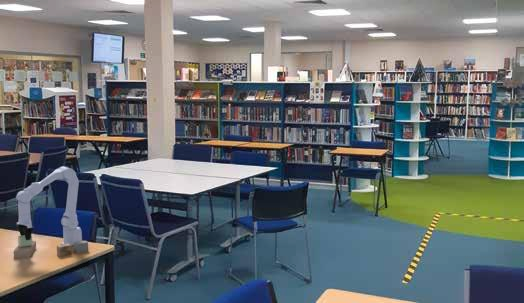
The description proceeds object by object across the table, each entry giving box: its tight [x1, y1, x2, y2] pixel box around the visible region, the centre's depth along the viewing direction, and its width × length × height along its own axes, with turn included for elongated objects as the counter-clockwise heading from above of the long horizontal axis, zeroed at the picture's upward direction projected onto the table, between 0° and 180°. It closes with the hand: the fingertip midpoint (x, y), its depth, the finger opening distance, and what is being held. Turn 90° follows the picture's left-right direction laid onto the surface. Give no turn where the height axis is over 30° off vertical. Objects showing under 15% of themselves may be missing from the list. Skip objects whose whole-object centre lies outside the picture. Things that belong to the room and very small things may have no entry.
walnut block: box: [56, 243, 72, 257], centre depth 273 cm, size 6×4×5 cm, turn 133°
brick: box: [13, 240, 37, 259], centre depth 275 cm, size 17×8×5 cm, turn 13°
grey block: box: [73, 240, 89, 254], centre depth 278 cm, size 6×4×5 cm, turn 133°
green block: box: [17, 235, 33, 247], centre depth 274 cm, size 6×4×5 cm, turn 132°
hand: (25, 238), depth 274 cm, fingers open, 7 cm apart
